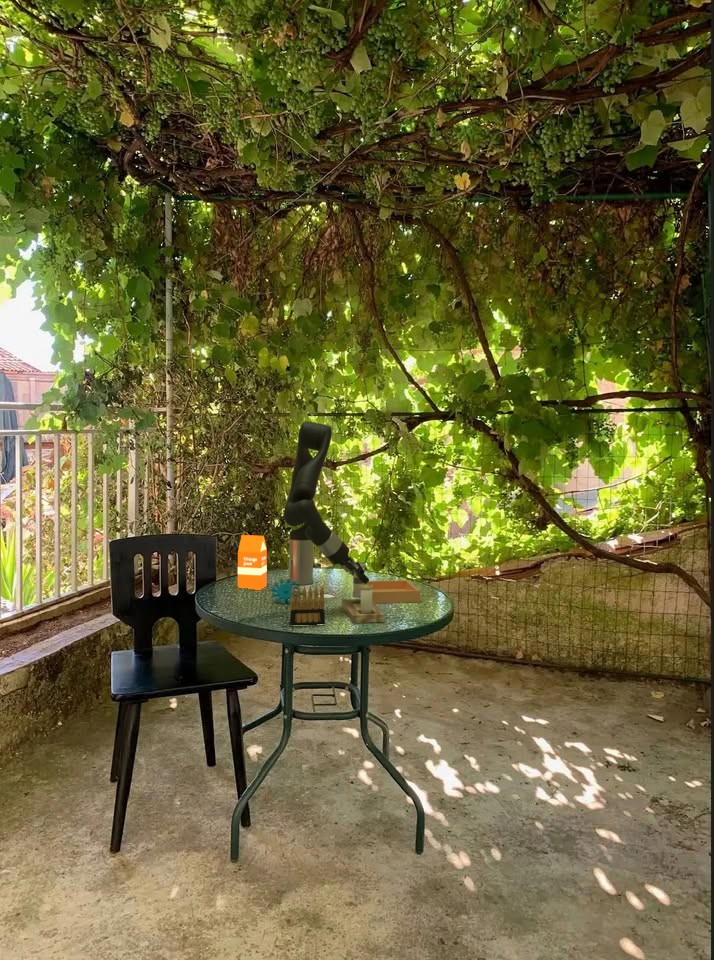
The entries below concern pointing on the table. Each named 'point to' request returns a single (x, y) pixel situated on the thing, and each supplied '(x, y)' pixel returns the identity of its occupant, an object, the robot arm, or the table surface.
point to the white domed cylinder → (357, 583)
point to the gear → (284, 591)
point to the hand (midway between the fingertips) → (363, 580)
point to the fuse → (366, 598)
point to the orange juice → (252, 562)
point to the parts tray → (394, 591)
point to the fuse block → (354, 608)
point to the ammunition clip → (307, 607)
